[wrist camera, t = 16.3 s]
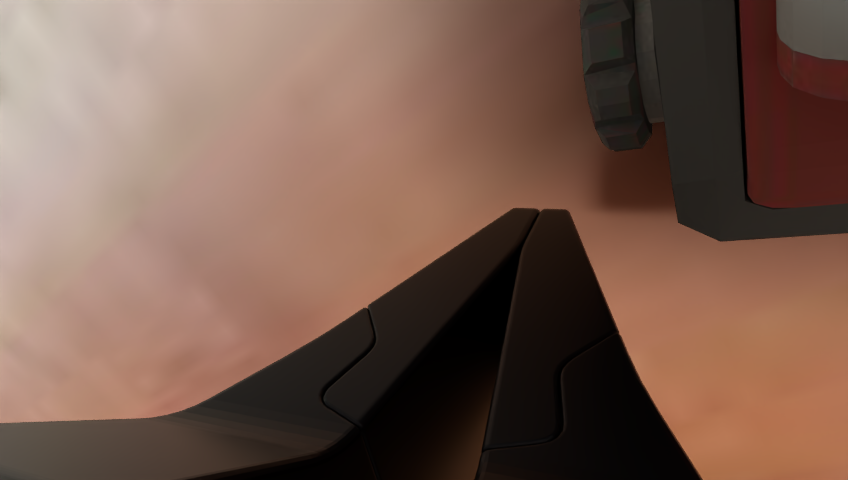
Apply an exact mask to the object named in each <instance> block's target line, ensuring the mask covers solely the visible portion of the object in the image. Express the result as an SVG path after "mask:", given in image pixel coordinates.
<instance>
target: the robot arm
mask: <svg viewBox="0 0 848 480" xmlns="http://www.w3.org/2000/svg"><path fill="white" fill-rule="evenodd" d="M0 480H703V479H702V478H701V476H700V475H699V473H698V472H697V470H696V468H695V467H694V465H693V464H692V462H691V461H690V459H689V457H688V456H687V454H686V453H685V451H684V450H683V448H682V446H681V445H680V443H679V442H678V440H677V439H676V437H675V435H674V434H673V432H672V431H671V429H670V428H669V426H668V425H667V423H666V421H665V420H664V418H663V417H662V415H661V414H660V412H659V410H658V409H657V407H656V405H655V403H654V402H653V400H652V398H651V397H650V395H649V393H648V391H647V390H646V388H645V386H644V385H643V383H642V381H641V379H640V377H639V375H638V373H637V371H636V369H635V366H634V364H633V362H632V360H631V358H630V356H629V354H628V351H627V349H626V347H625V344H624V342H623V339H622V337H621V335H619V331H618V328H617V326H616V323H615V321H614V318H613V316H612V314H611V311H610V309H609V306H608V304H607V302H606V299H605V297H604V294H603V292H602V289H601V287H600V285H599V282H598V280H597V277H596V275H595V272H594V270H593V268H592V265H591V263H590V260H589V258H588V256H587V253H586V251H585V248H584V246H583V243H582V241H581V239H580V236H579V234H578V231H577V229H576V227H575V224H574V222H573V219H572V217H571V214H570V212H569V211H568V210H565V209H543V210H541V212H540V211H539V210H538V209H534V208H513V209H512V210H510V211H508V212H507V213H505V214H504V215H502V216H501V217H499V218H498V219H496V220H495V221H493V222H492V223H490V224H489V225H487V226H486V227H484V228H483V229H481V230H480V231H478V232H477V233H475V234H474V235H472V236H471V237H469V238H468V239H466V240H465V241H463V242H462V243H460V244H459V245H457V246H456V247H454V248H453V249H451V250H450V251H448V252H447V253H445V254H444V255H442V256H441V257H439V258H438V259H436V260H435V261H434V262H432V263H431V264H429V265H428V266H426V267H425V268H423V269H422V270H420V271H419V272H417V273H416V274H414V275H413V276H411V277H410V278H408V279H407V280H405V281H404V282H402V283H401V284H399V285H398V286H396V287H395V288H393V289H392V290H390V291H389V292H387V293H386V294H384V295H383V296H381V297H380V298H378V299H377V300H375V301H374V302H372V303H371V304H369V305H368V309H367V308H363V309H361V310H360V311H358V312H357V313H355V314H354V315H352V316H351V317H349V318H348V319H346V320H345V321H343V322H342V323H340V324H339V325H337V326H335V327H334V328H332V329H331V330H329V331H328V332H326V333H324V334H323V335H321V336H320V337H318V338H316V339H315V340H313V341H311V342H309V343H308V344H306V345H304V346H303V347H301V348H299V349H297V350H296V351H294V352H292V353H290V354H289V355H287V356H285V357H283V358H282V359H280V360H278V361H276V362H274V363H272V364H271V365H269V366H267V367H265V368H263V369H262V370H260V371H258V372H256V373H254V374H253V375H251V376H249V377H247V378H245V379H244V380H242V381H240V382H238V383H236V384H235V385H233V386H231V387H229V388H227V389H226V390H224V391H222V392H220V393H218V394H216V395H215V396H213V397H211V398H209V399H207V400H205V401H203V402H201V403H199V404H197V405H195V406H193V407H190V408H187V409H185V410H182V411H179V412H175V413H172V414H168V415H164V416H158V417H152V418H140V419H111V420H81V421H51V422H21V423H0Z"/></svg>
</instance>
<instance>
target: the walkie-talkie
mask: <svg viewBox="0 0 848 480" xmlns="http://www.w3.org/2000/svg"><path fill="white" fill-rule="evenodd" d="M580 25H581V41H582V56H583V71H584V80H585V85H586V91H587V97H588V103H589V107H590V111H591V114H592V118H593V122H594V125H595V129H596V131H597V133H598V135H599V137H600V139H601V141H602V143H603V144H604V145H605V146H606V147H608V148H609V149H610V150H614V151H623V150H632V149H640V148H643V147H644V145H645V144H646V142H647V141H648V139H649V138H650V137H651V135H652V124H653V123H658V122H665V130H666V138H667V147H668V155H669V164H670V172H671V181H672V188H673V194H674V200H675V206H676V212H677V218H678V223H680V224H682V225H685V226H687V227H689V228H691V229H694V230H696V231H698V232H700V233H703V234H705V235H707V236H709V237H712V238H714V239H716V240H718V241H735V240H750V239H765V238H780V237H795V236H810V235H825V234H840V233H848V0H581V4H580Z"/></svg>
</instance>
